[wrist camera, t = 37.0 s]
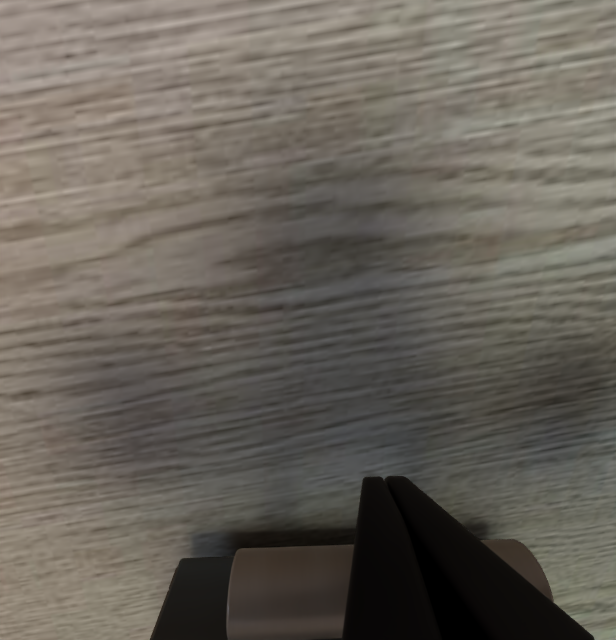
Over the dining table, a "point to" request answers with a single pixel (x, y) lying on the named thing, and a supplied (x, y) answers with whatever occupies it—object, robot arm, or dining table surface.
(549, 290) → the dining table surface
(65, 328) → the dining table surface
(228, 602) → the drawer
